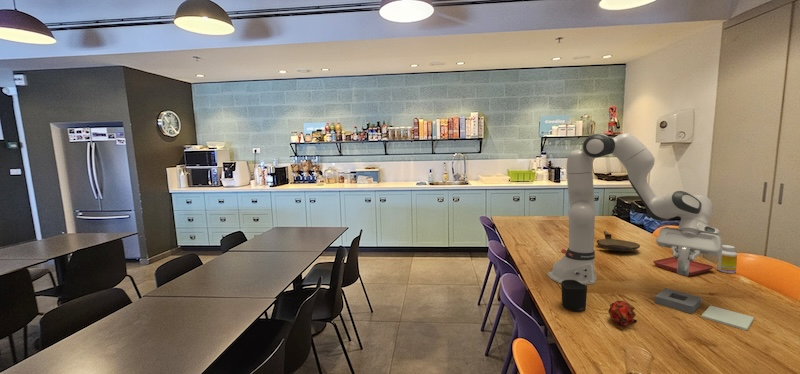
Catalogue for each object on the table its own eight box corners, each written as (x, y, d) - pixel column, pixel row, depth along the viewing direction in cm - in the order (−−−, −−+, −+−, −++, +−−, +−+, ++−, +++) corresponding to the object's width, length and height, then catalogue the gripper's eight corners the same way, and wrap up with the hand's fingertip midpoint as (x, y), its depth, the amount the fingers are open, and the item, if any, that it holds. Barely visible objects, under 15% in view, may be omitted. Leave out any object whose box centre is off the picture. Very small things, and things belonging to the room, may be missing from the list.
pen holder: (562, 311, 134) (562, 287, 132) (560, 300, 142) (560, 278, 141) (588, 314, 130) (589, 290, 129) (584, 303, 139) (585, 280, 138)
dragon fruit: (623, 318, 129) (624, 338, 119) (602, 303, 131) (602, 321, 122) (639, 305, 125) (642, 325, 115) (618, 290, 127) (619, 308, 117)
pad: (747, 330, 115) (747, 328, 115) (701, 317, 124) (701, 315, 124) (753, 319, 122) (753, 317, 121) (710, 307, 131) (710, 305, 131)
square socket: (692, 314, 127) (692, 306, 127) (654, 303, 137) (655, 296, 136) (701, 304, 134) (701, 297, 133) (664, 294, 144) (665, 287, 143)
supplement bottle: (739, 274, 161) (741, 248, 159) (723, 273, 162) (725, 248, 161) (729, 269, 167) (730, 244, 166) (713, 268, 169) (715, 244, 167)
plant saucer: (651, 266, 176) (651, 260, 175) (674, 261, 181) (675, 255, 181) (690, 278, 159) (690, 272, 158) (714, 272, 164) (715, 266, 164)
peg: (683, 275, 131) (684, 249, 130) (674, 272, 134) (675, 246, 133) (691, 275, 131) (692, 248, 130) (682, 271, 135) (684, 245, 134)
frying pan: (595, 254, 198) (596, 241, 197) (596, 240, 224) (596, 229, 223) (641, 259, 187) (642, 245, 186) (637, 244, 212) (637, 232, 211)
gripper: (659, 222, 143) (650, 248, 139) (724, 230, 126) (716, 261, 122) (662, 230, 146) (653, 256, 142) (726, 239, 130) (718, 269, 125)
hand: (683, 258), depth 132 cm, fingers closed on peg, 4 cm apart
